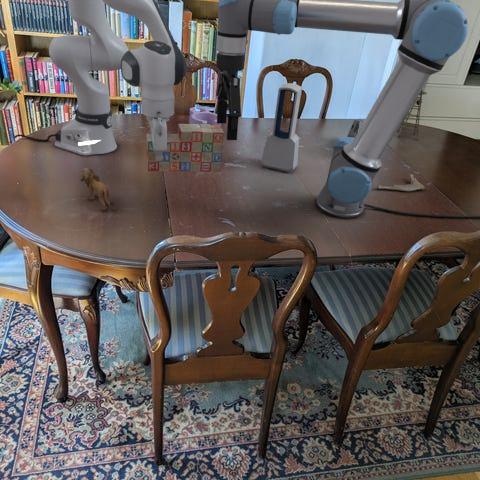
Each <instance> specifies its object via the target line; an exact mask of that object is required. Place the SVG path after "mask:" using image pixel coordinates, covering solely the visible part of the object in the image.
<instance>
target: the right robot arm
mask: <svg viewBox="0 0 480 480" xmlns="http://www.w3.org/2000/svg"><path fill="white" fill-rule="evenodd" d="M217 9H218V11H217V34H216V51H217V53H216V56H215V57H216V59H215V67H216V68H217V69H218V70H219V74H218V80H217V87H216V93H215V95H216V99H217V108H216V110H217V111H216V114H217V124H221V125H222V124H227V128H226V141H237V140H238V129H239V128H238V127H239V118H241V117H242V103H241V77H238V74H237V73H238V72H239V71H243V70H244V69H245V62H246V59H245V58H246V55H245V54H244V53H246V45H247V44H248V43H249V41H248V39H247V35H248V34H247V33H248V31H252V32H261V33H268V34H276V35H278V36H279V35H292V34H293V33H294V31H295V28H302V29H311V30H312V29H313V30H314V29H315V30H326V31H338V32H348V33H349V32H352V33H362V34H363V33H364V34H375V35H376V34H377V35H386V36H387V35H388V36H392V37H393V39H394V40H398V41H399V40H400V41H401V42H400V44H399V46H398V47H397V50H396V51H397V54H398V60H397V62H396V64H395V66H394V67H393V70H392V71H391V73H390V75H389V76H388V78H387V80H386V82H385V83H384V86H383V87H382V89H381V91H380V93H379V94H378V96H377V98H376V100H375V101H374V103H373V105H372V107H371V109H370V110H369V112H368V113H367V116H366V117H365V119H364V121H363V122H362V125H361V127H359V129H358V133H357V135H356V137H355V138H353V137H347V136H340V137H338V138H336V139H335V141H334V145H333V150H332V154H331V159H330V164H329V167H328V172H327V177H326V182H325V183H324V185H323V187H322V189H321V190H320V191H319V193H318V195H317V198H316V206H317V208H318V209H319V210H320V211H322V213H324V214H327V215H328V216H332V217H335V218H340V219H354V218H358V217H361V215H362V214H363V213H364V210H365V207H367V208H371V209H374V210H378V211H383V212H388V213H392V214H399V215H406V216H417V217H432V218H448V219H449V218H451V219H453V218H454V219H456V218H457V219H480V215H455V214H454V215H452V214H451V215H450V214H432V213H431V214H429V213H417V212H416V213H415V212H406V211H398V210H393V209H389V208H388V209H387V208H383V207H379V206H375V205H370V204H367V203H365V199H367V197H368V196H369V194H370V193H371V189H372V186H373V185H372V184H373V183H372V182H373V181H374V179H375V177H376V176H377V174H378V173H379V171H380V169H381V168H382V166H383V163H382V160H381V157H382V155H383V154H384V152H385V151H386V149H387V147H388V145H389V144H390V142H391V141H392V139H393V137H394V136H395V135H396V132H398V129H399V127H400V124H401V123H402V121H403V119H404V118H405V116H406V115H407V113H408V111H409V112H410V110H411V109H410V108H412V105H413V104H414V102H415V100H416V98H417V97H419V96H420V95H419V93H420V92H421V90H422V88H423V87H425V86H426V85H427V82H428V81H429V79H430V77H431V75H434V74H437V73H440V72H441V71H442V70H443V69H444V66H445V65H446V63H448V61H449V58H450V57H452V56H453V55H455V54H456V53H457V52H459V50H460V49H461V48H462V46H463V45H464V43H465V41H466V39H467V36H468V33H469V22H468V18H467V16H466V13H465V11H464V10H463V9H462V7H461V6H460V5H458V4H457V3H455V2H454V1H453V2H452V1H451V0H399V1H397V2H393V1H391V2H390V1H376V0H218V5H217ZM427 80H428V81H427ZM423 89H424V88H423ZM422 91H423V90H422ZM417 99H418V98H417ZM416 101H417V100H416ZM415 103H416V102H415ZM407 116H408V115H407ZM407 116H406V117H407ZM405 119H406V118H405Z"/></svg>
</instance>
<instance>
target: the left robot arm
mask: <svg viewBox="0 0 480 480" xmlns="http://www.w3.org/2000/svg"><path fill="white" fill-rule="evenodd" d="M67 5H68V13H69V16H70V18H71V19H72V20H73V21H74V22H75V23H77V24H78V25H80V26H82V27H84V28H86V29H87V30H88V31H89V32H90V33H91V34H90V35H75V34H66V35H61V36H55V37H53V38H52V40H51V41H50V43H49V47H48V53H49V54H48V55H49V58H50V61H51V62H52V63H53V65H54V66H55V67H56V68H58V69H59V70H61V71H62V72H63V73H64V74H65V75H66V76H67V77H68V78H69V80H70V81H71V83H72V85H73V87H74V90H75V94H76V101H77V108H76V109H75V110H74V111H71V115H72V116H74V115H75V116H74V118H73V119H72V120H71V121H69V122H68V123H67V124H65V125H64V126H63V127H62V128H61V129H60V130H58V131H57V132H55V134H49V135H48V136H47V138H46V139H41V138H36V137H33V136H28V135H25V134H19V133H18V134H16V135H15V136H13V139H16V138H18V137H21V138H25V139H30V140H33V141H38V142H48V141H50V139H51V138H52V137H55V142H54V146H55V147H57V148H59V149H62V150H65V151H69V152H72V153H74V154H78V155H80V156H84V157H85V156H86V157H87V156H92V155H105V154H108V153H111V152H114V151H115V150H116V149H117V148H118V145H117V142H116V140H115V135H114V131H113V111H112V109H111V97H110V89H109V87H108V86H107V85H106V84H105V83H104V82H102V81H100V80H98V79H96V78H94V77H93V76H92V75H91V74H90V72H92V71H93V72H112V71H113V72H114V71H119V70H120V73H121V78H122V79H123V80H124V81H125V82H126V83H127V84H128V85H130V86H131V87H135V88H137V87H138V88H140V89H141V92H140V93H141V94H140V104H141V105H140V107H141V114H142V115H143V116H145V118H146V120H147V121H148V124H149V129H150V130H149V131H150V133H151V137H152V145H153V151H154V152H155V158H156V160H157V161H161V160H162V154H163V152H166V151H167V134H168V125H167V122H169V121H170V118H171V117H173V116H174V115H175V91H174V86H178V85H179V84H180V83H181V82H182V81H183V80H184V78H185V76H186V74H187V72H188V63H187V60H186V58H185V55H184V54H183V52H182V51H181V48H180V47H179V46H178V44H177V42H176V41H175V38H174V36H173V34H172V32H171V30H170V28H169V26H168V23H167V22H166V19H165V17H164V15H163V13H162V11H161V9H160V7H159V5H158V3H157V1H156V0H67ZM106 6H107V7H109V8H110V9H113V10H114V11H117V12H120V13H123V14H126V15H129V16H131V17H133V18H135V19H137V20H139V21H140V22H141V23H142V24H144V25H145V27H146V28H147V30H148V32H149V34H150V36H151V39H152V40H148V41H145V42H144V43H143V44H142V45H141V47H139V48H134V49H130V50H129V47H128V45H127V44H126V42H125V41H124V40H123V39H122V38H121V37H119V36H118V35H117V34H116V33H115V32H114V30H113V29H112V27H111V25H110V23H109V21H108V18H107V17H108V16H107V14H106V13H107V12H106Z"/></svg>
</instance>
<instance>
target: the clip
mask: <svg viewBox="0 0 480 480" xmlns="http://www.w3.org/2000/svg"><path fill="white" fill-rule="evenodd" d="M188 119H189V120H188V121H189V122H188V124H210V125H220V126H221V127H222V123H221V124H217V113H215V112H211V111H210V109H209V108H206V107H203V106H200V107H199V111H196V108H195V107H190V108H189V118H188Z"/></svg>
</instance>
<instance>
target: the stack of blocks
mask: <svg viewBox="0 0 480 480" xmlns="http://www.w3.org/2000/svg"><path fill="white" fill-rule="evenodd" d="M224 136H225V132H224V129H223V127H222V125H221V126H220V125H210V124H189V123H178V124H177V133H167V151H166V152H163V154H162V160H161V161H157V160H156V158H155V152H154V151H153V145H152V137H151V132H149V133H148V132H146V165H147V166H146V167H147V171H148V172H206V173H207V172H212V173H215V172H218V173H219V172H221V171H222V159H223V152H224V150H223V149H224Z"/></svg>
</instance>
